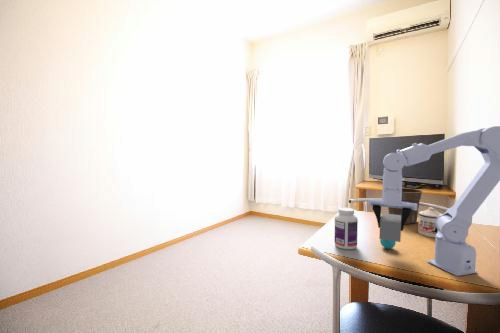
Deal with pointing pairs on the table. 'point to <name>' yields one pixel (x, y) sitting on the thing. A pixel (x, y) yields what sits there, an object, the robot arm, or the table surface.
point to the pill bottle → (346, 229)
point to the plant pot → (409, 197)
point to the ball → (387, 243)
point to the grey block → (390, 227)
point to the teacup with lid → (428, 222)
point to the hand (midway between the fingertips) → (390, 228)
